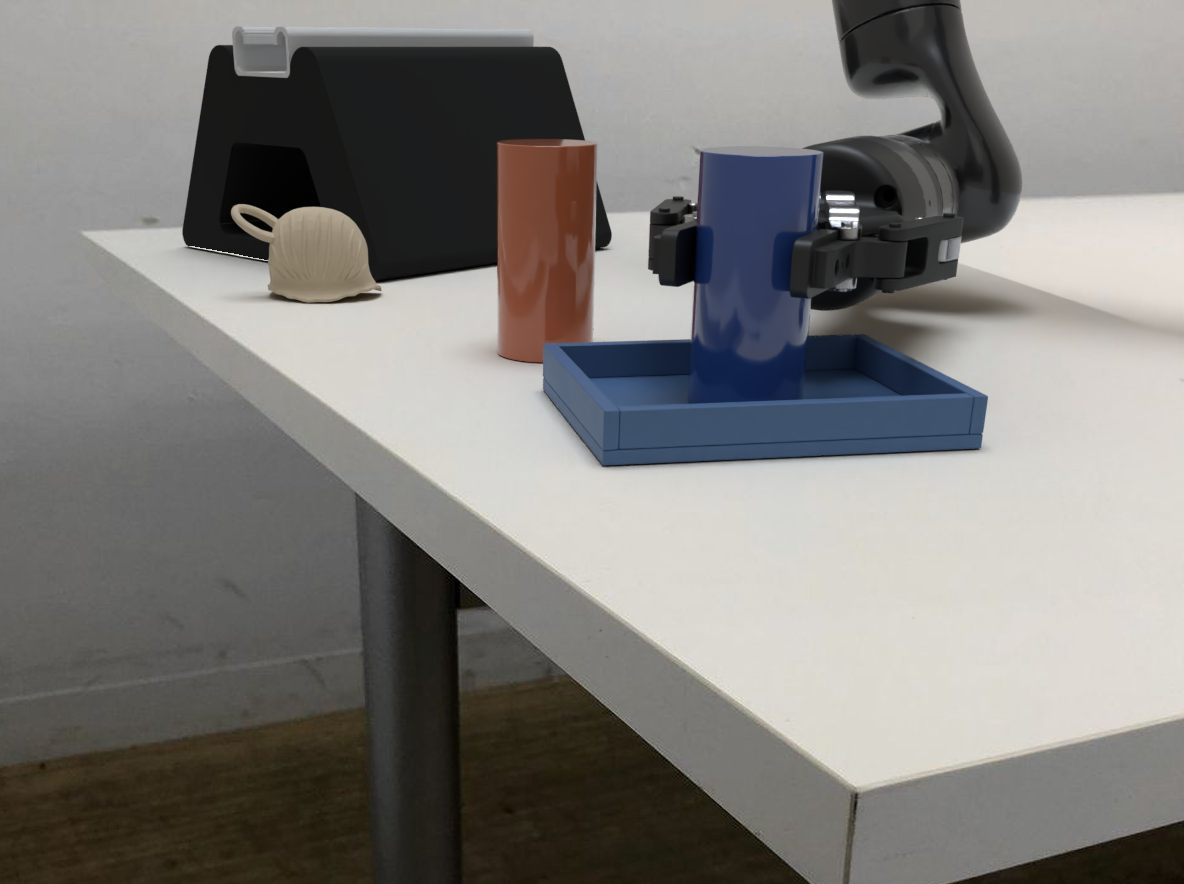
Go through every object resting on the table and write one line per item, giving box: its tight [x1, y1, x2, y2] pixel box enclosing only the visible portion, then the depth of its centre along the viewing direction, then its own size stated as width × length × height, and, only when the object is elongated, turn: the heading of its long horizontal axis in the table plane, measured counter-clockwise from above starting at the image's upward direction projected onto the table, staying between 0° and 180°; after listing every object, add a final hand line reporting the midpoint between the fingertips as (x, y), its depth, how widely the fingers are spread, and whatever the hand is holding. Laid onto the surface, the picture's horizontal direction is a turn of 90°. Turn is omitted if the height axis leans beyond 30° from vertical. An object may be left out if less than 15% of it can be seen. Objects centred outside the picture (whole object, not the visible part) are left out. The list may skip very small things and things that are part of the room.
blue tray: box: [542, 333, 989, 466], centre depth 58 cm, size 15×12×2 cm
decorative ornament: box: [231, 204, 382, 303], centre depth 83 cm, size 4×8×5 cm, turn 84°
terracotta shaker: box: [496, 139, 598, 364], centre depth 68 cm, size 5×5×10 cm
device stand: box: [181, 25, 613, 282], centre depth 101 cm, size 22×22×15 cm
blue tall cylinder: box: [687, 146, 824, 404], centre depth 56 cm, size 5×5×10 cm
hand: (733, 264), depth 54 cm, fingers closed on blue tall cylinder, 4 cm apart
